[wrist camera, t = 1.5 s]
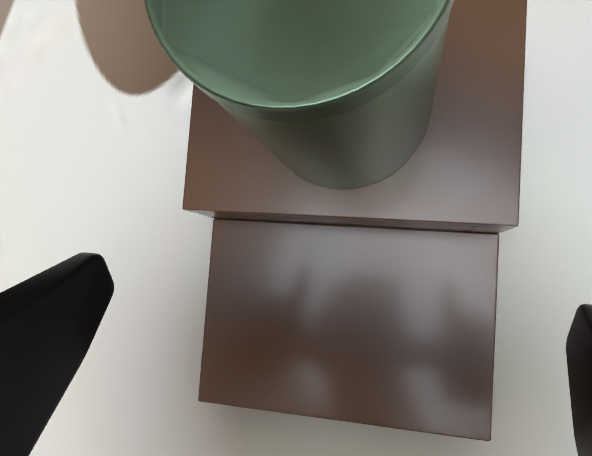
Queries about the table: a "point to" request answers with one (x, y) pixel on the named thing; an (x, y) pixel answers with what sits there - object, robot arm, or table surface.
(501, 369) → the table surface
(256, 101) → the tea tin
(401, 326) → the brown stand
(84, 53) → the table surface
